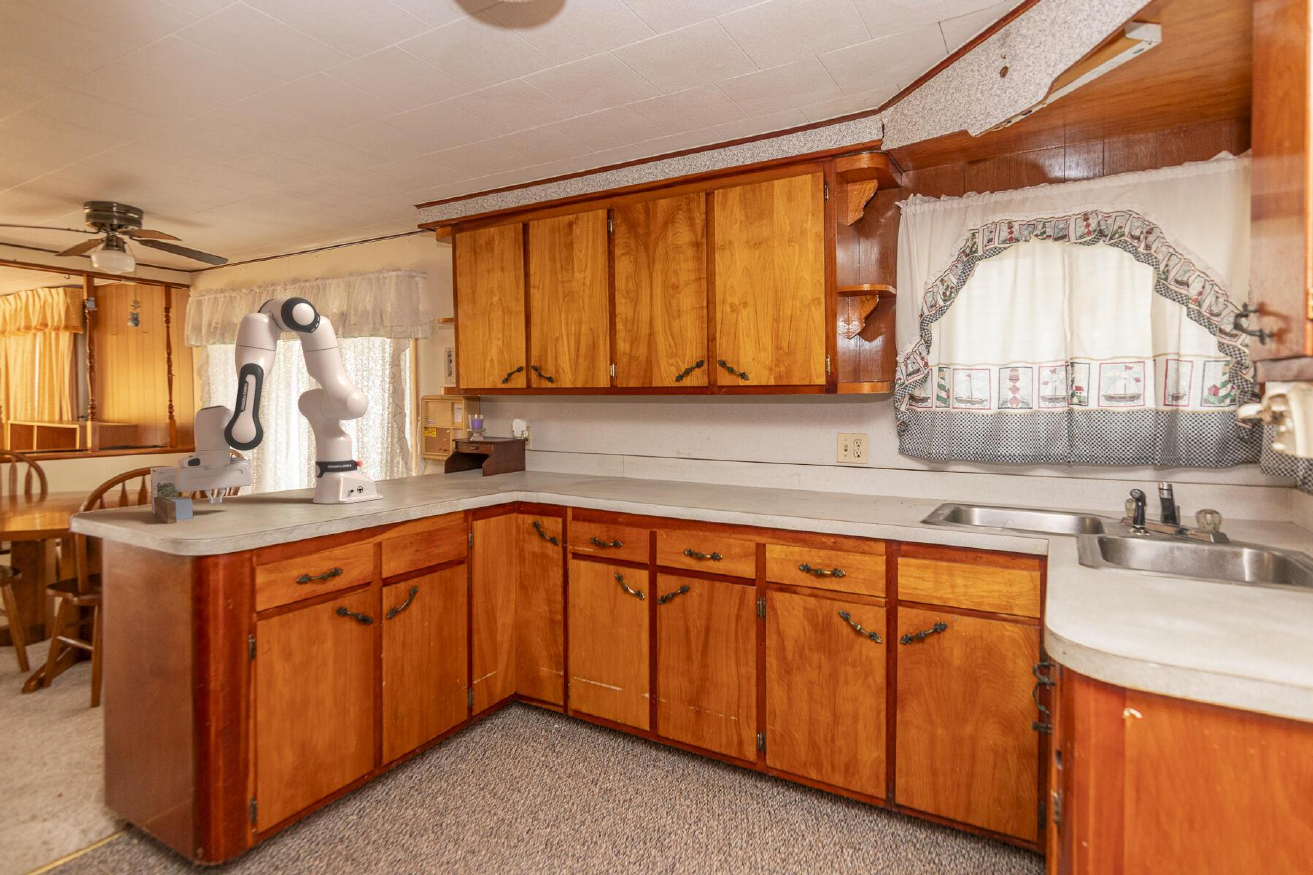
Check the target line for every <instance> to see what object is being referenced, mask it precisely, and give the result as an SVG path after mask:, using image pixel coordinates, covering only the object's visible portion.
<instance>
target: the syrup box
mask: <svg viewBox="0 0 1313 875" xmlns="http://www.w3.org/2000/svg"><path fill="white" fill-rule="evenodd" d="M178 468H179V467H177V466H175V465H168V466H167V465H166V466H154V467H150V469H149V470H150V487H151V488H150V489H151V491H150V493H151V494H150V495H151V513H152V514H153V515H155V510H154V497H164V498H177V497H180V496H179V492H178V491H177V490H176V489H175V473H176V470H177V469H178Z"/></svg>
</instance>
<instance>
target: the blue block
mask: <svg viewBox="0 0 1313 875" xmlns="http://www.w3.org/2000/svg"><path fill="white" fill-rule="evenodd" d="M167 499H169V500H172V501H174V502H176V521H187V520H192V519H193V515H194V514H193V499H192V498H191V497H187V496H179V497H177V498H167Z"/></svg>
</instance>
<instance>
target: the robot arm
mask: <svg viewBox="0 0 1313 875" xmlns="http://www.w3.org/2000/svg"><path fill="white" fill-rule="evenodd" d="M283 333H295V334H296V335H297V336H298V338H299V341H300V344H301V349H302V353H303V358H304V363H305V366H306V371H307V373H308V375H309V376H310V377H312V378H313V379H314V380H316V382H317V383H318V384H319V385H320V387H321V388H313V389H308V390H306V391H304V392H302V393H301V394H300V395H299V397H298V400H297V407H298V410H299V413H300V414H301V415H302V416H303V417H305V419H306V420H307V421H308V423H309V425H310V427H311V430H312V432H313V435H314V438H315V448H316V449H315V450H316V461H315V466H314V467H315V468H314V471H315V477H316V484H315V491H314V495H313V500H312V503H314V504H345V505H346V504H352V503H353V504H354V503H359V502H367V501H371V500H379V499H380V500H381V499H384V495H383V493H379V492H377V486H376V483H375V481H374V480H373V479H372V478H371V477H369V476H367V475H366V474H364V473H363V472H361V471H360V470H359V469H358V467H362V466H363V465H364V463H363V461H361V460H355V459H353V450H352V448H353V446H352V445H353V444H352V436H350V434H348V433H347V432H346V431H345V430H344V429H343V427H342V424H341V421H353V420H356V419H359V418H362V417H364V416H365V414H366V412H367V411H368V407H369V405H368V404H369V403H368V398H367V396H366V394H365V393H364V392H363V391H361V390H360V389H359V388H357V387H356V386H355V384H354V383H353V381H352V380H351V379H350V377H349V376H348V374H347V373H346V369H345V367H344V364H343V360H342V356H341V352H340V346H339V343H338V339H337V335H336V333H335V330H334V327H333V325H332V323H331V320H330V319H329V318H328V317H326V316H325V315H321V314H319V312H318V311H317V309H316V308H315V306H314V305H313V303H312V302H310V301H309V300H307V299H305V298H303V297H299V296H293V297H292V296H282V297H279V298H278V297H277V298H271V299H268V300H266V301H265V302H264V303H263V304H262V305H261V306H260V307H259V308H258V310H257V312H251V313H250V312H249V313H247V314H245V315H244V316H243V318H242V320H241V322H240V325H239V327H238V331H237V336H236V340H235V347H234V366H235V371H236V372H235V373H236V376H237V377H236V378H237V392H236V393H237V394H236V399H235V406H234V410H231V409H230V408H228V407H227V406H225V405H221V404H220V405H219V404H218V405H212V406H208V407H207V406H206V407H202V408H201V409H199V410H198V411H197V412H196V414H195V418H194V437H195V439H196V445H195V446H196V447H195V453H193V454H190V455H187V456H184V457H181V458H179V459H178V461H177V464H178V466H179V467H177V468H178V469H177V470H176V473H175V489H176V490H177V491H178V493H186V492H187V493H188V492H198V491H204V494H205V495H206V496H207V498H208V499H209V502H208V503H209V504H210V505H217V504H222V503H223V497H224V495H225V494H226V489H228V488H240V487H250V486H252V484H253V483H254V482H253V474H252V467H253V465H252V464H253V463H252V459H250V458H248V457H247V456H240V457H239V456H238V457H232V456H231V448H233V449H234V450H236V451H242V452H246V451H247V452H248V451H251V450H254V449H256V448H257V447H258V446H260V445H261V443H262V441H263V439H264V434H265V430H264V425H263V424H262V422H261V421H260V409H261V408H260V406H261V400H262V394H263V393H262V392H263V388H264V385H265V382H266V381H267V379H268V378H269V376H270V375H271V373H272V371H273V368H274V364H275V360H276V355H277V347H278V344H277V343H278V341H279V337H280V335H282V334H283ZM216 489H218V492H219V494H218V496H215V497H213V495H212V493H213V490H216Z"/></svg>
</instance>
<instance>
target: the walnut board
mask: <svg viewBox="0 0 1313 875" xmlns="http://www.w3.org/2000/svg"><path fill="white" fill-rule="evenodd" d="M154 510H155V514H154V518H156V519H157V520H160V521H162V522H164V523H166V524H169V525H170V524H176V523H177V521H176V502H174V501H172V500H169V499H167V498H164V497H154Z"/></svg>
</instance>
